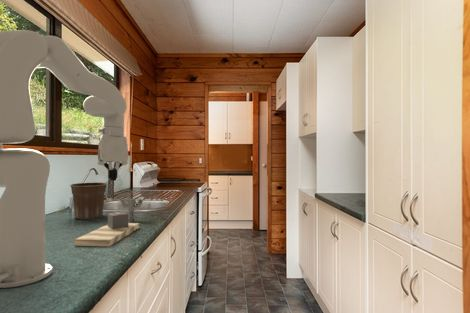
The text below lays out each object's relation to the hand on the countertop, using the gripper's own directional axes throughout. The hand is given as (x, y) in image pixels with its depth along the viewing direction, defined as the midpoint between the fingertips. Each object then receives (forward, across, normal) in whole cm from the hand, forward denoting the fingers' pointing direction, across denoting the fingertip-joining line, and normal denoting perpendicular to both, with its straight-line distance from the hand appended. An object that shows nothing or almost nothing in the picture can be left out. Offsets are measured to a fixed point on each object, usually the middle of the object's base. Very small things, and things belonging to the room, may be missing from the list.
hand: (112, 180), depth 112 cm
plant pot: (+20, +2, +39) cm, 43 cm away
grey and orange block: (+18, +3, +2) cm, 19 cm away
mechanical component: (+20, +14, +17) cm, 30 cm away
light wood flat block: (+20, -1, -2) cm, 21 cm away
